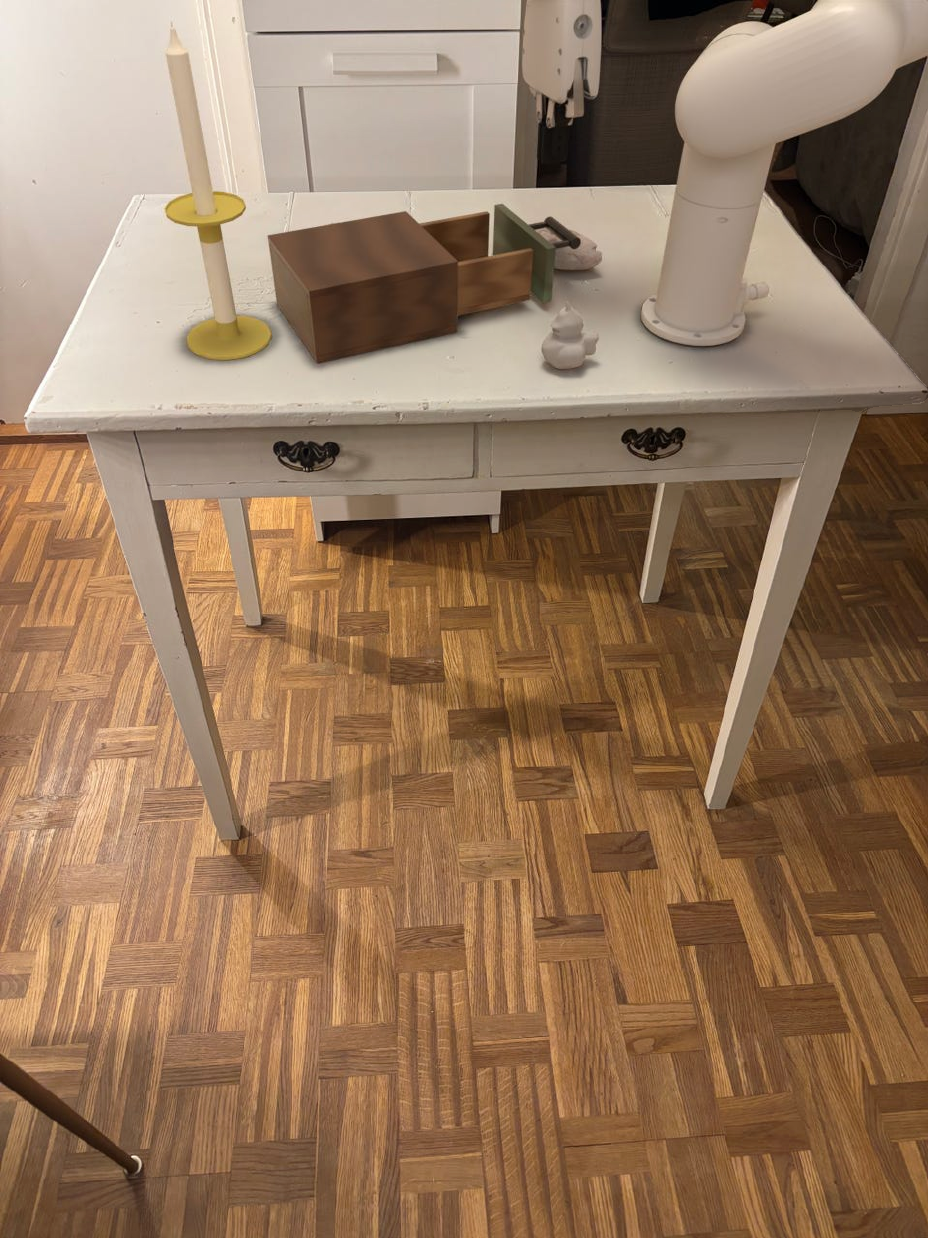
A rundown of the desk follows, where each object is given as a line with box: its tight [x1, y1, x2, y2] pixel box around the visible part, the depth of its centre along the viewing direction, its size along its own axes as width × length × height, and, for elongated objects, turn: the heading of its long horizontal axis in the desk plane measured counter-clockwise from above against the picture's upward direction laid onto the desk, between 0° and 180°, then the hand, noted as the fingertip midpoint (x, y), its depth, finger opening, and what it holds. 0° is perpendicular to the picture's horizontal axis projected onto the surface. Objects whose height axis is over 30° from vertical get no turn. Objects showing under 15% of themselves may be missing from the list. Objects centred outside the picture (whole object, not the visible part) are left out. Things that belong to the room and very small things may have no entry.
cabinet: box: [267, 210, 458, 364], centre depth 110 cm, size 18×15×9 cm
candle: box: [164, 20, 273, 361], centre depth 98 cm, size 10×10×32 cm
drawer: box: [419, 203, 581, 317], centre depth 116 cm, size 22×14×7 cm, turn 115°
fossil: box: [535, 228, 603, 271], centre depth 124 cm, size 12×4×10 cm
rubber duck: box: [540, 299, 600, 370], centre depth 104 cm, size 5×7×8 cm
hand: (551, 159), depth 108 cm, fingers closed
